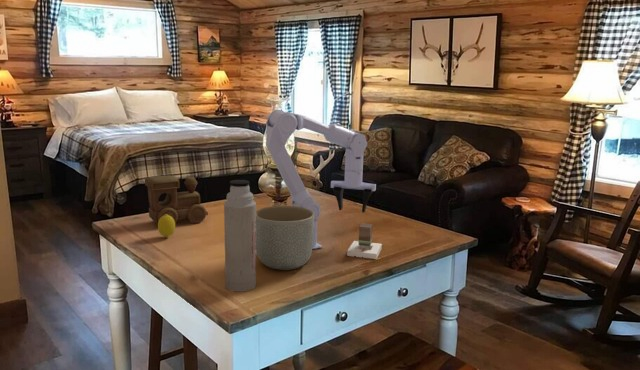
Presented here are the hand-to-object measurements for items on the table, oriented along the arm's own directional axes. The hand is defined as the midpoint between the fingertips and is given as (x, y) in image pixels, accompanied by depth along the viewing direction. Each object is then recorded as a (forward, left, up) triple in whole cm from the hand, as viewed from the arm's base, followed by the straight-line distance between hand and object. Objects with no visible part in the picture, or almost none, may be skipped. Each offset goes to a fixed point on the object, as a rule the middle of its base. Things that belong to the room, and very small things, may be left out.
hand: (352, 210), depth 179 cm
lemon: (-53, +29, -11) cm, 61 cm away
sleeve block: (-2, -11, -10) cm, 15 cm away
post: (-2, -11, -8) cm, 14 cm away
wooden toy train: (-45, +45, -11) cm, 65 cm away
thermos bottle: (-46, -18, -11) cm, 51 cm away
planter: (-29, -9, -11) cm, 32 cm away
